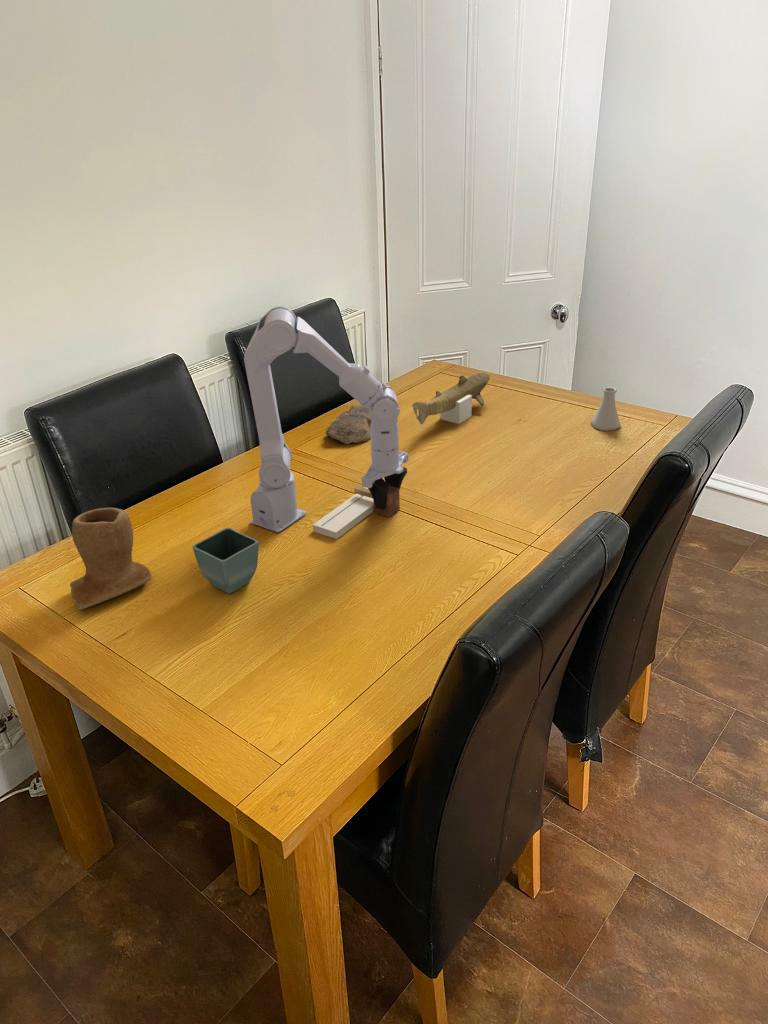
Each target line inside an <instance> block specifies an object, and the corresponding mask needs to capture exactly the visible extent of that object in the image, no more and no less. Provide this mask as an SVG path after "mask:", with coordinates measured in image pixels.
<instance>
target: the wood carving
mask: <svg viewBox="0 0 768 1024" xmlns="http://www.w3.org/2000/svg"><path fill="white" fill-rule="evenodd" d="M490 379H491V377H490V375H489V374H488V373H485V372H480V373H475V374H473V375H471V376H469V377H466V376H464V375H459V377H458V383H456V384H455V385H453V386H451V387H449V388H447V389H445V390H443V391H442V392H440V390H437V391H435V396H434V397H432V398H431V399H430V400H429V401H420V400H417V401H416V400H415V401H413V403H412V408H413V413H414V415H415V417H416V419H417V421H418V422H419V424H420V425H424V424H425V421H426V419H427V418H428V417H429V416H436V415H439V419H440V420H442V419H443V420H442V421H447V422H449V423H454V424H458V425H460V424H461V423H464V422H465V421H466V420H468V419H470V418H471V417H472V411H473V410H472V407H473V403H472V402H473V399H475V400H476V401H477V402H478V403H479V405H480V406H481V407H483V406H484V405H485V401H484V399H483V396H482V395H481V393H482V391H483V390H484V388H485V387H486V386H487V384H488V382H489V380H490Z"/></svg>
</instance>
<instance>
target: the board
mask: <svg viewBox="0 0 768 1024" xmlns="http://www.w3.org/2000/svg"><path fill="white" fill-rule="evenodd" d="M364 488H366V487H364ZM366 489H368V488H366ZM372 513H374V503H373V498H369V497H366V496H361V495H359V494H356V493H354V494H353V495H352V496H351V497H349V498H348V499H347V500H345V501H344V502H342V503H341V504H340V505H338V506H336V507H335V508H334V509H333V510H331V511H330V512H328V513H327V514H326V515H324V516H323V517H321V518H320V519H319V520H317V521H315V522H314V523H313V524H312V531H313V532H314V533H318V534H320V535H323V536H325V537H329V538H332V539H335V540H338V539H339V538H340V537H342V536H343V535H344V534H345V533H347V532H348V531H350V530H351V529H352V528H354V527H355V526H356V525H357V524H359V523H360V522H361V521H362V520H364V519H365V518H367V517H368V516H369V515H371V514H372Z"/></svg>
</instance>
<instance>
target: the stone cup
mask: <svg viewBox="0 0 768 1024" xmlns="http://www.w3.org/2000/svg"><path fill="white" fill-rule="evenodd" d="M71 537H72V541H73V543H74V545H75V548H76V550H77V552H78V554H79V556H80V558H81V561H82V562H83V564H84V566H85V567H84V568H85V574H84V575H83V576H81V577H80V578H78V579H75V580H72V581H71V582H69V586H70V588H71V589H70V592H71V595H72V600H73V601H74V604H75V606H76V608H77V609H78V610H79V611H81V610H85V609H87V608H90V607H92V606H96V605H97V604H101V603H103V602H105V601H108V600H111V599H113V598H116V597H118V596H121V595H123V594H125V593H128V592H130V591H132V590H134V589H137V588H138V587H141V586H142V585H145V584H146V583H148V582H150V580H151V579H152V573H151V571H150V570H149V568H148V567H146V565H144V564H142V563H139V562H137V561H133V556H132V555H133V554H132V553H133V547H134V530H133V525H132V522H131V518H130V515H129V514H128V513H127V512H126V511H125V510H124V509H121V508H117V507H103V508H100V507H99V508H96V509H91V510H88V511H86V512H85V511H84V512H82V513H80V514H79V515H77V516H76V517H75V518H74V519H73V521H72V524H71Z"/></svg>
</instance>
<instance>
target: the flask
mask: <svg viewBox="0 0 768 1024" xmlns="http://www.w3.org/2000/svg"><path fill="white" fill-rule="evenodd" d="M602 391H603V395H602V396H603V397H602V399H601V402H600V405H599V407H598V408H597V410H596V412H595V414H594V415H593V418H592V419H591V421H590V424H591V426H592V427H593V428H595V429H597V430H599V431H603V432H605V431H615V430H618V429H619V428H621V422H620V418H619V415H618V411H617V408H616V407H617V406H616V401H615V400H616V398H615V397H616V393H617V392H618V390H617V389H616V388H615V387H611V386H608V387H604V388H602Z"/></svg>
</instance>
